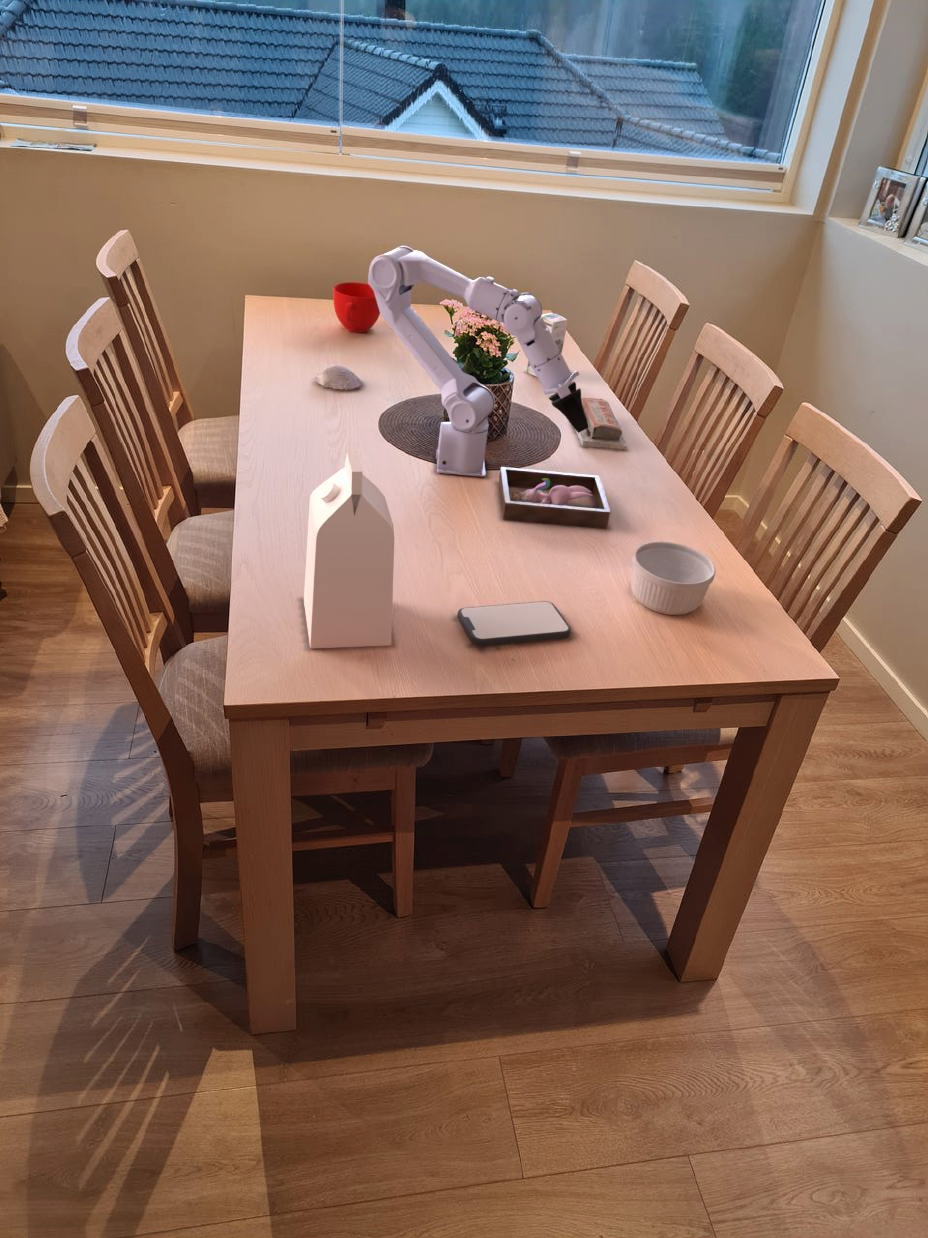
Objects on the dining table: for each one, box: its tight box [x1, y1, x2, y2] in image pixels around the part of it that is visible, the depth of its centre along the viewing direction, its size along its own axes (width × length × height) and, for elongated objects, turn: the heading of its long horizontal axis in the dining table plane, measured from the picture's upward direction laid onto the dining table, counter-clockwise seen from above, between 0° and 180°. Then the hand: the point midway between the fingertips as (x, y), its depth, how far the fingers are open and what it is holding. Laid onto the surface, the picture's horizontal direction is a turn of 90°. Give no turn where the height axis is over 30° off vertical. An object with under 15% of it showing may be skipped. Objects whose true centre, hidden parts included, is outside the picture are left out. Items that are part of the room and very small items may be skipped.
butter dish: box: [573, 397, 628, 450], centre depth 206 cm, size 18×5×10 cm
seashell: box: [314, 364, 362, 391], centre depth 213 cm, size 10×6×10 cm
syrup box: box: [526, 312, 569, 378], centre depth 230 cm, size 6×6×14 cm
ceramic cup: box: [332, 281, 381, 333], centre depth 243 cm, size 13×17×10 cm
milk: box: [303, 451, 395, 649], centre depth 131 cm, size 12×12×26 cm
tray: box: [498, 466, 612, 530], centre depth 175 cm, size 19×15×4 cm
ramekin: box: [630, 540, 716, 616], centre depth 152 cm, size 13×13×7 cm
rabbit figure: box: [511, 478, 593, 506], centre depth 175 cm, size 6×6×15 cm
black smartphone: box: [456, 600, 572, 648], centre depth 141 cm, size 9×2×16 cm
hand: (581, 426), depth 172 cm, fingers open, 7 cm apart
